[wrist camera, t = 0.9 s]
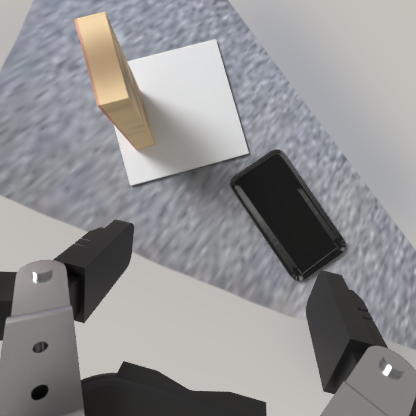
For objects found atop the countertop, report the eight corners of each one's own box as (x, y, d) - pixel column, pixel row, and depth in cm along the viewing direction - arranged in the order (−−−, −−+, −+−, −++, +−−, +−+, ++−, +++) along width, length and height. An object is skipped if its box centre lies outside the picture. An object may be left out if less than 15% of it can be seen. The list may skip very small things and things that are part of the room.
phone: (297, 284, 34) (226, 180, 34) (294, 282, 35) (226, 182, 35) (350, 247, 34) (280, 145, 34) (345, 246, 35) (277, 147, 36)
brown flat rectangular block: (121, 95, 34) (74, 19, 21) (140, 90, 35) (104, 11, 22) (136, 150, 34) (97, 105, 21) (155, 144, 34) (128, 97, 21)
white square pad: (99, 70, 35) (98, 68, 35) (215, 41, 36) (215, 39, 35) (131, 185, 34) (130, 185, 34) (248, 153, 35) (248, 153, 35)
